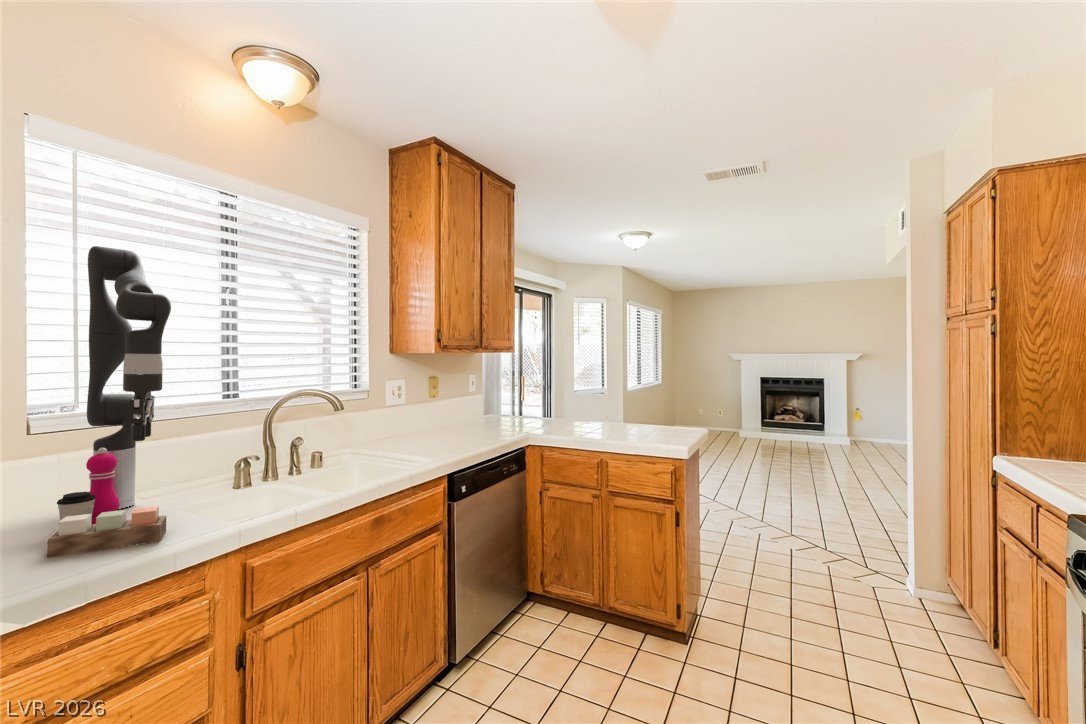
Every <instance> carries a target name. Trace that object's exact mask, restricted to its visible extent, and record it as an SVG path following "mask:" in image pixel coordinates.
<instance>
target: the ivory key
mask: <svg viewBox="0 0 1086 724" xmlns="http://www.w3.org/2000/svg"><path fill="white" fill-rule="evenodd" d="M91 515H92V514H84V515H75V516H67V517H65V518H63V519H62V520H61V521H60V520H59V522H58V530H59V536H63V535H71V534H78V533H86V532H88V531H89V530H90V529H91Z"/></svg>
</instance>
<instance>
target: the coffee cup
mask: <svg viewBox="0 0 1086 724" xmlns="http://www.w3.org/2000/svg"><path fill="white" fill-rule="evenodd" d="M62 496H63V497H62V498H60V499H58V500H57V502H56V504H57V508H58V514H59V519H60V520H59V522H60V521H61V520H62V519H63V518H65V517H67V516H75V515H84V514H92V513H93V507H94V501H95V499H96V497H95V495H91V494H90V491H75V492H71V493H66V494H63V495H62ZM91 519H92V515H91Z"/></svg>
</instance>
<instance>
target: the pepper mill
mask: <svg viewBox="0 0 1086 724" xmlns="http://www.w3.org/2000/svg"><path fill="white" fill-rule="evenodd" d="M106 452H107V449H106V448H100V449H99V450H98V453H99V454H96V455H94V456H93V455H92V456H91V457H89V458H88V459H87V461H86V463H85V464H86V466H85V467H86V469H87V471H89V472H90V473H89V474H88V476H89V477H88V479H89V480H90V479H91V489H90V488H89V492H90V494H91V495H95V497H96V499H95V501H94V507H93V513H92V519H91V524H96V518H97V517H98V516H99V515H100V514H101V513H102V512H111V511H118V510H117V509H118V508H119V506H120V502H119V499H118V496H117V495H116V493H115V491H114V489H113V485H112V478H113V476H115V475H114V472H115V471H113V469H114V468H115V467H116V466H117V458H116V457H115V456H114V455H112V454H108V453H106Z"/></svg>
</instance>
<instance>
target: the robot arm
mask: <svg viewBox="0 0 1086 724" xmlns="http://www.w3.org/2000/svg"><path fill="white" fill-rule="evenodd" d="M87 273H88V275H87V276H88V289H89V321H88V324H89V325H88V358H89V360H88V361H89V377H88V379H89V380H88V390H87V400H86V401H87V402H86V403H87V404H86V420H87V423H88V424H89V426H90V427H106V426H107V427H109V426H110V427H111V426H121V428H120V429H119V430H117V431H116V432H114V433H112V434H109V435H106V436H104V437H100V438H98V439H95V440H94V441H93V444H92V445H93V446H92V447H93V448H92V450H93V451H92V452H93V453H92V454H93V455H92V456H94V455H96V454H99V453H98V450H99V449H100V448H106V449H107V452H106V453H108V454H112V455H114V456H115V457H116V458H117V466H116V467H115V468H114V469H113V471H115V472H114V475H115V476H113V478H112V485H113V489H114V491H115V493H116V495H117V496H118V499H119V502H120V506H119V508H118V509H119V510H122V509H121V508H124V509H126V508H125V507H128V508H130V507H129V506H131V507H133V506H134V505H135V503H136V449H137V447H136V445H137V443H136V442H142V441H145V440H146V437H147V438H149V437H151V436H152V421H153V420H154V419H155V418H154V417H155V414H154V413H155V412H154V411H155V398H156V397H155V395H152V392H160V391H162V390H163V369H164V368H163V359H162V354H163V353H162V351H163V350H162V348H163V347H162V346H163V345H162V343H163V342H162V341H163V340H162V339H163V334H164V331H165V328H166V324H167V322H168V319H169V317H170V314H171V312H172V303H171V301H170V299H169V298H168V297H167V296H166V295H164V294H161V293H154V290H153V289H152V287H151V286H150V285H149V284H148V282H147V280H146V275H145V270H144V268H143V264H142V260H141V258H140V256H139V255H138V253H136V252H134V251H132V250H129V249H128V250H127V249H121V248H113V247H106V246H96V245H95V246H92V247H90V249H89V250H88V254H87ZM105 281H111V282H114V290H115V291H114V292H115V293H116V294H117V299H116V303H114V301H113V299H112V297H111V296H110V294H109V292H108V289H107V286H106V282H105ZM130 321H143V322H151V323H150V325H149V326H148V327H147V328H142V329H133V327H132V325H131V323H130ZM122 363H123V367H122V369H123V371H122V372H123V373H122V374H123V375H122V389H123V391H124V392H127V393H106V394H105V393H104V392H103V391H104V388H105V386H106V384H107V382H108V381H109V379H110V377H111V376H112V375H113V373H114V372H115V371H116V370H117V369H118V368H119V367H120V365H122ZM129 392H130V393H129ZM132 392H133V393H134V394H133V393H132ZM90 489H91V479H89V490H90ZM132 505H133V506H132Z"/></svg>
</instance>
